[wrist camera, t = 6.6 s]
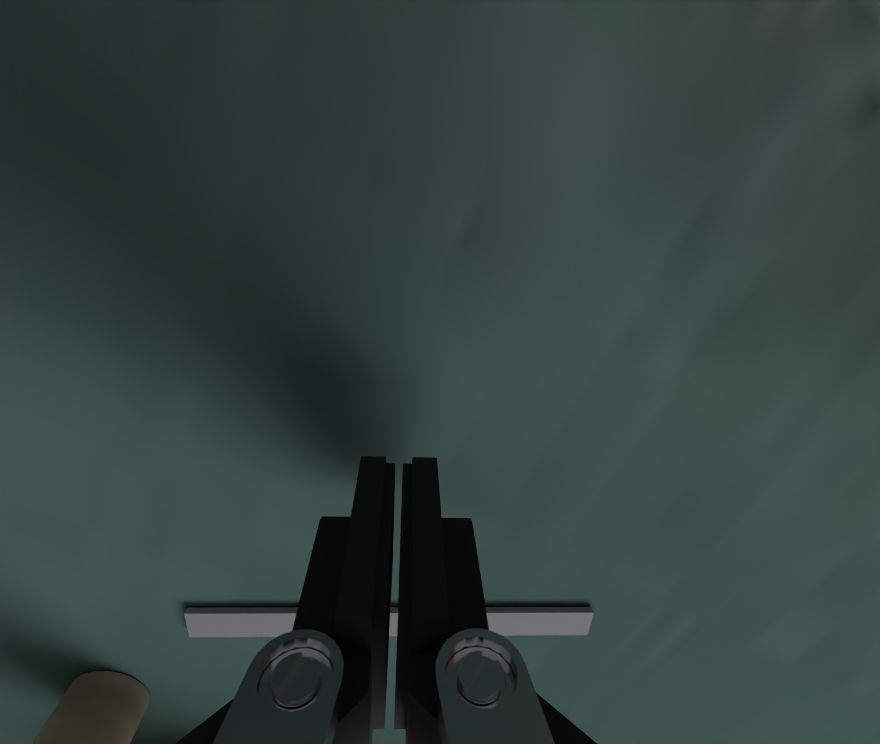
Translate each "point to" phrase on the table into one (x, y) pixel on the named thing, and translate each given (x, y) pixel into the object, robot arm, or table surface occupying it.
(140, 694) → the birch pin
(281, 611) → the lane line
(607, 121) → the table surface
